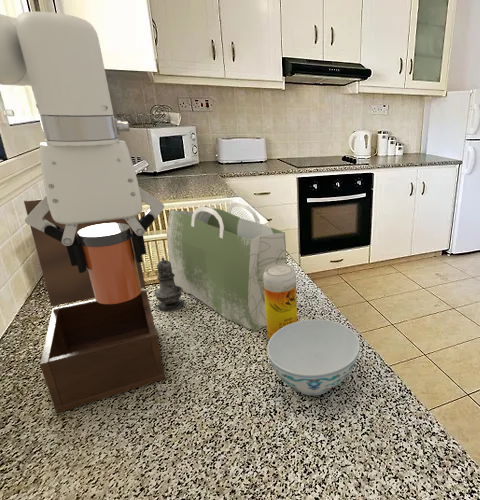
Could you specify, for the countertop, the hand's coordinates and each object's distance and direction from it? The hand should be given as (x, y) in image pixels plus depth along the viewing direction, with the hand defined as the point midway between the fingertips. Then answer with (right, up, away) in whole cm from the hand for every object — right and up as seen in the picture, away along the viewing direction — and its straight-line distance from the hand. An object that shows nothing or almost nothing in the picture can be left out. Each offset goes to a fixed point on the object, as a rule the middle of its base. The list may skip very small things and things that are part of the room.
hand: (111, 263), depth 53 cm
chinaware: (+28, -21, +11) cm, 36 cm away
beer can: (+20, -16, +23) cm, 35 cm away
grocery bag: (+5, -10, +38) cm, 40 cm away
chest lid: (-14, +2, +16) cm, 21 cm away
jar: (0, -5, +2) cm, 5 cm away
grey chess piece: (-8, -11, +34) cm, 37 cm away
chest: (-9, -19, +14) cm, 25 cm away
